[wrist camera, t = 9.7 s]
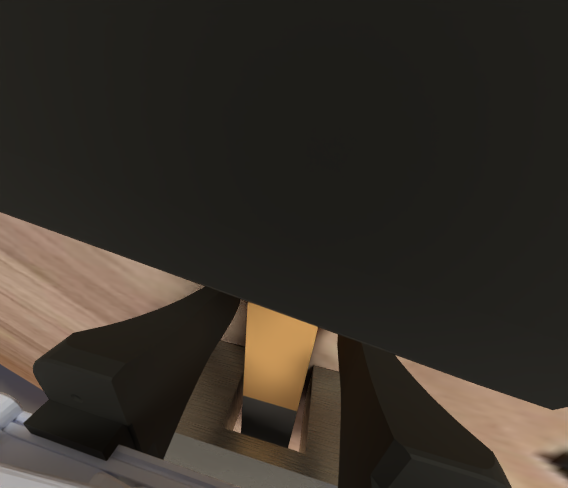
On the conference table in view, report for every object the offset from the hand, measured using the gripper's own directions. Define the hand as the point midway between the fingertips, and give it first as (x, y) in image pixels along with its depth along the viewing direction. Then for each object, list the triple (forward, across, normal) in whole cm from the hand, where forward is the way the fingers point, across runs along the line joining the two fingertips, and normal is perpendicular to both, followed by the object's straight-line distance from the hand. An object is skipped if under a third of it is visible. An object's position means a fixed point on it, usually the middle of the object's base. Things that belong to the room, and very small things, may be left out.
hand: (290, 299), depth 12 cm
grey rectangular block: (+1, 0, +8) cm, 9 cm away
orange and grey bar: (+1, 0, +5) cm, 5 cm away
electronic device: (+2, -1, -12) cm, 12 cm away
